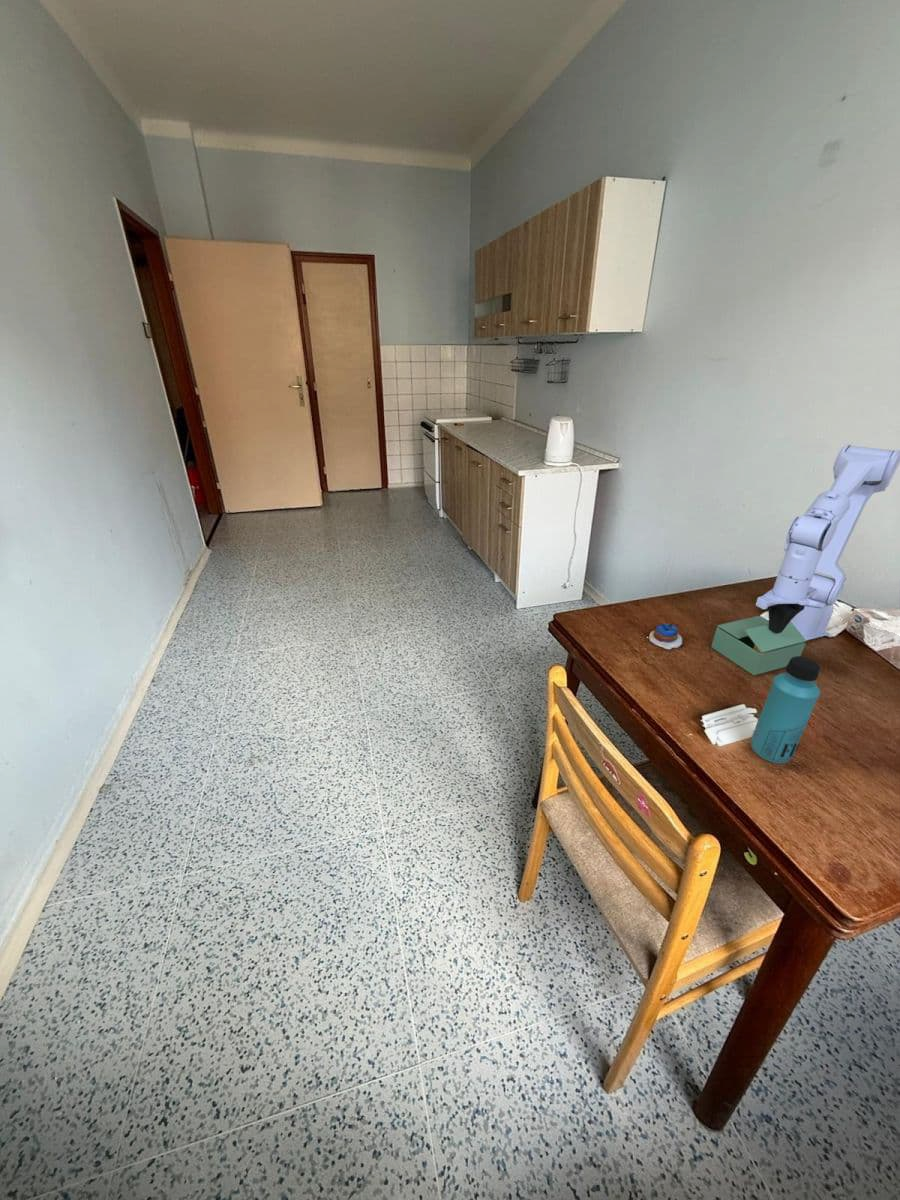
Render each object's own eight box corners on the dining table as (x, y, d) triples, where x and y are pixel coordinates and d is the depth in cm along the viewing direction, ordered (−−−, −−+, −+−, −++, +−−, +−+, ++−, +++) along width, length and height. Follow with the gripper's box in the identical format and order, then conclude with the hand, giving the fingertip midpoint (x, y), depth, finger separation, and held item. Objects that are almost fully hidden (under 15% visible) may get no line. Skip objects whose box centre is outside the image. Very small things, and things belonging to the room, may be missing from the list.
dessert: (657, 624, 120) (673, 614, 115) (675, 645, 118) (692, 635, 113) (640, 638, 115) (657, 627, 110) (659, 660, 114) (676, 650, 109)
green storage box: (752, 636, 115) (759, 615, 112) (797, 663, 106) (806, 640, 103) (711, 646, 112) (717, 625, 109) (753, 675, 102) (762, 652, 99)
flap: (788, 620, 106) (788, 619, 106) (805, 641, 103) (806, 640, 103) (744, 630, 102) (745, 629, 102) (761, 652, 99) (762, 652, 99)
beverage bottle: (775, 776, 78) (817, 680, 69) (737, 750, 83) (772, 657, 74) (798, 762, 81) (842, 667, 71) (760, 737, 86) (796, 646, 77)
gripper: (787, 588, 91) (765, 647, 97) (840, 576, 95) (817, 633, 101) (755, 573, 97) (737, 630, 103) (807, 563, 101) (786, 618, 107)
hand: (774, 630), depth 102 cm, fingers closed
